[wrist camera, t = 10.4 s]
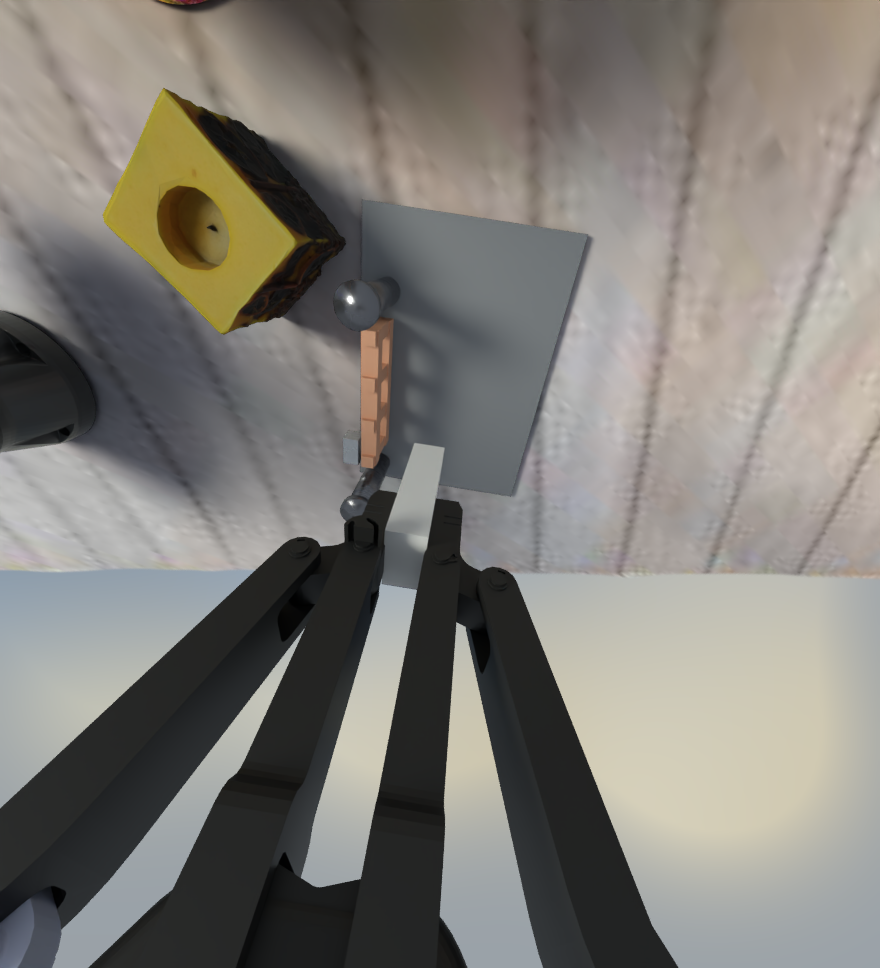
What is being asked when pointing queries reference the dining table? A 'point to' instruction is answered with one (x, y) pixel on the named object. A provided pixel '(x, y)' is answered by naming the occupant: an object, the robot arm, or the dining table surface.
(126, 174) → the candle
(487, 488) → the mat
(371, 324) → the glossy grey waisted cylinder
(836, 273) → the dining table surface
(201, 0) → the vase
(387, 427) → the gate
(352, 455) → the latch post
